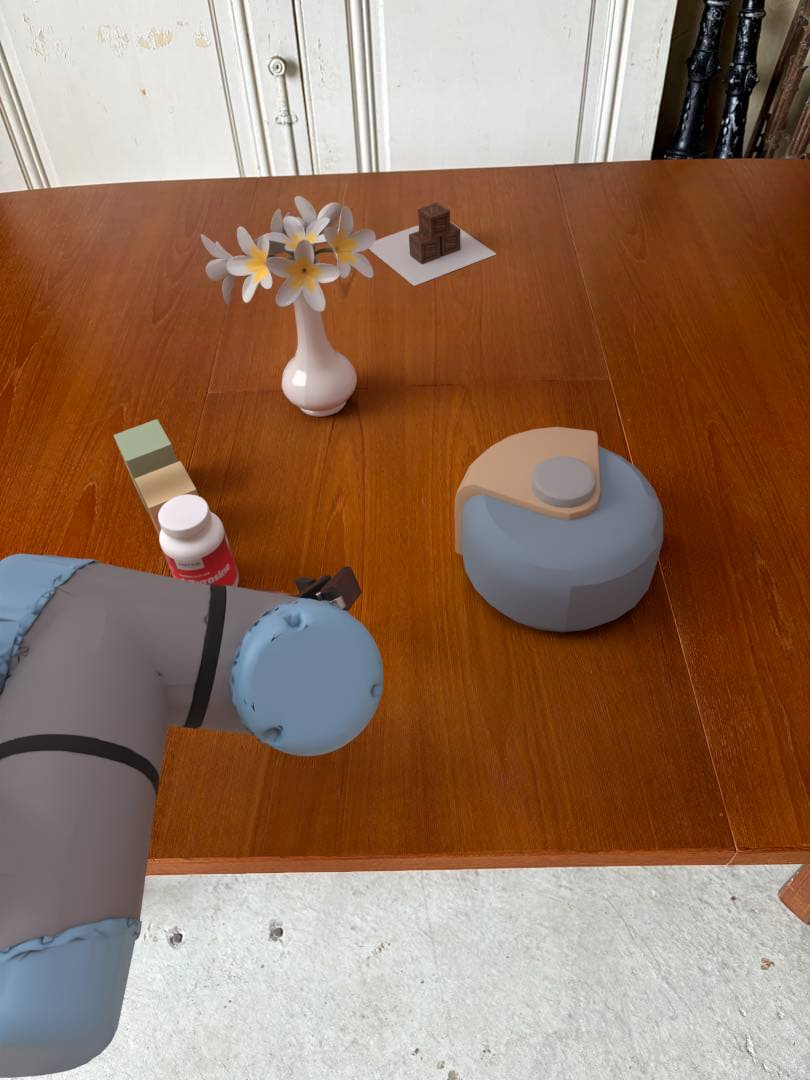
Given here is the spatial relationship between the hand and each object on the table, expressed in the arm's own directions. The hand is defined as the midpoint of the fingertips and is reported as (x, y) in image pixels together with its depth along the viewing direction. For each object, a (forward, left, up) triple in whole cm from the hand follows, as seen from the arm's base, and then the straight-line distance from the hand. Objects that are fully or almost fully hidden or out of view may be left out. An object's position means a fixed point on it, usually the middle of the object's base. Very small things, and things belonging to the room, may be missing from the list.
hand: (235, 623), depth 73 cm
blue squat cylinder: (+32, 0, -6) cm, 33 cm away
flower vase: (+16, +34, -6) cm, 38 cm away
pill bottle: (-2, +10, -6) cm, 12 cm away
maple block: (-3, +18, -6) cm, 19 cm away
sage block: (-5, +26, -6) cm, 27 cm away
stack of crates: (+42, +64, -6) cm, 77 cm away
